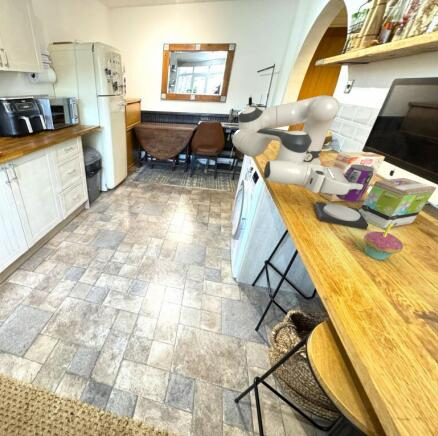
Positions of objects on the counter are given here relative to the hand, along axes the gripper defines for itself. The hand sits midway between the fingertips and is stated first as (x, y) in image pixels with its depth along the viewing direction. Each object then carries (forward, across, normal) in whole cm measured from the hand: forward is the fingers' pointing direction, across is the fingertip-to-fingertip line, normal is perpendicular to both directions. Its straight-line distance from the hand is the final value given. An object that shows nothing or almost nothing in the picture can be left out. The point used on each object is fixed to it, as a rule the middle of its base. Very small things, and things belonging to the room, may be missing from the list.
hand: (358, 182), depth 83 cm
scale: (-1, -1, -14) cm, 14 cm away
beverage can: (-1, 0, -7) cm, 7 cm away
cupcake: (+4, +22, -15) cm, 27 cm away
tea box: (+15, -6, -15) cm, 22 cm away
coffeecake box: (+4, -22, -14) cm, 27 cm away
